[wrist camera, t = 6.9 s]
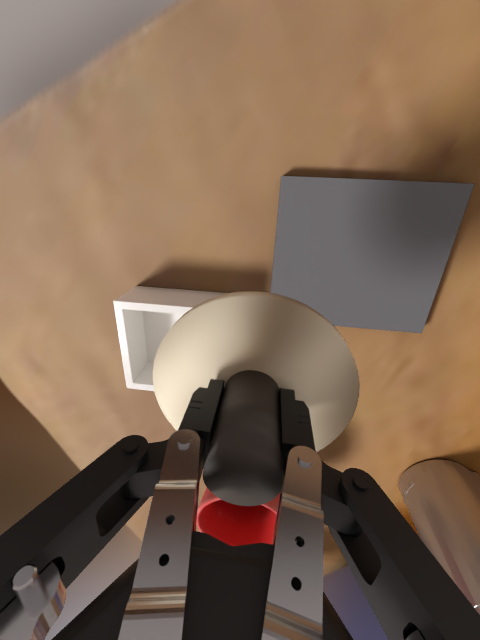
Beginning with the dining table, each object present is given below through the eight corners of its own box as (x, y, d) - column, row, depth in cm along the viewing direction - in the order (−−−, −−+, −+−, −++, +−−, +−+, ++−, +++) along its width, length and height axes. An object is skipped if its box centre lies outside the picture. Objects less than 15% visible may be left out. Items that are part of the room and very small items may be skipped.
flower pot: (237, 417, 38) (226, 484, 29) (300, 455, 40) (307, 529, 31) (199, 458, 42) (179, 527, 34) (257, 491, 44) (253, 565, 35)
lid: (380, 303, 13) (453, 378, 8) (332, 465, 18) (356, 580, 12) (151, 280, 14) (75, 335, 8) (163, 441, 18) (118, 540, 13)
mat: (465, 184, 24) (474, 183, 23) (416, 328, 30) (421, 333, 29) (281, 176, 26) (281, 175, 25) (268, 315, 31) (267, 319, 30)
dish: (227, 293, 31) (219, 309, 26) (225, 372, 35) (218, 398, 31) (136, 285, 32) (113, 300, 27) (145, 363, 36) (126, 387, 32)
